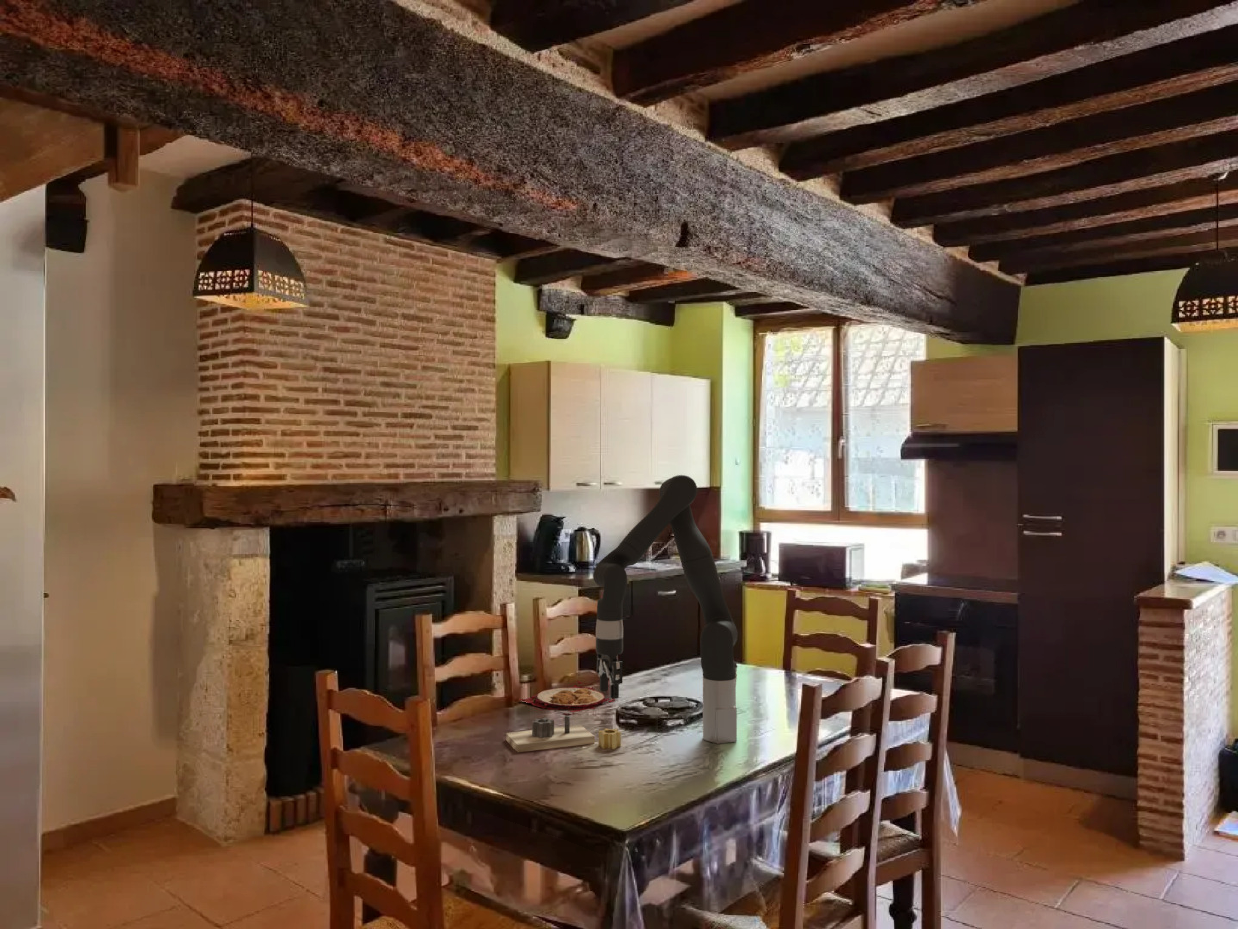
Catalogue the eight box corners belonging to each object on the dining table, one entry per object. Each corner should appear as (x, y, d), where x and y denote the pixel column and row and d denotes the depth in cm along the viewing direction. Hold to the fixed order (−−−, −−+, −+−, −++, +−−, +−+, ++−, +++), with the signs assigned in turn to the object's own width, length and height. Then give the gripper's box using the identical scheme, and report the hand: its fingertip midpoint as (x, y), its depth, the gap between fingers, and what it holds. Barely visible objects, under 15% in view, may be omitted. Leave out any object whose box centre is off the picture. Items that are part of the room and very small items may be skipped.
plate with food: (518, 704, 304) (518, 694, 304) (576, 688, 322) (576, 679, 322) (568, 719, 287) (568, 708, 287) (626, 702, 306) (625, 691, 305)
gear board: (594, 743, 259) (594, 719, 259) (517, 752, 251) (517, 728, 251) (580, 731, 270) (580, 709, 270) (506, 740, 262) (506, 717, 262)
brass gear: (623, 748, 254) (623, 733, 254) (603, 750, 252) (603, 735, 252) (615, 742, 260) (615, 727, 260) (596, 744, 258) (596, 729, 258)
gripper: (631, 639, 251) (631, 700, 251) (613, 630, 264) (612, 687, 264) (605, 641, 248) (604, 702, 248) (588, 631, 262) (587, 689, 262)
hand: (609, 694), depth 256 cm, fingers open, 8 cm apart
